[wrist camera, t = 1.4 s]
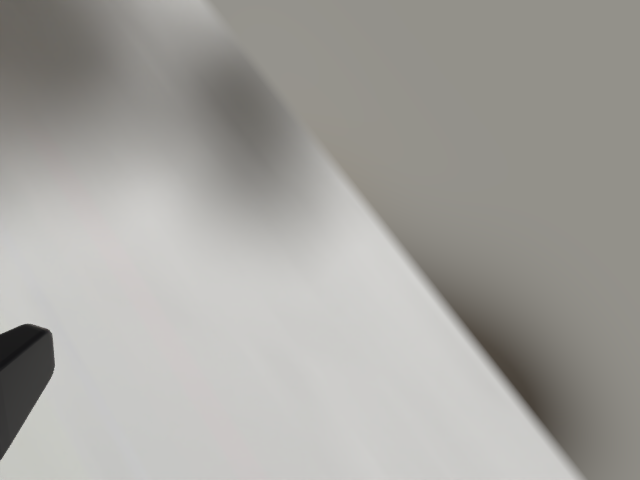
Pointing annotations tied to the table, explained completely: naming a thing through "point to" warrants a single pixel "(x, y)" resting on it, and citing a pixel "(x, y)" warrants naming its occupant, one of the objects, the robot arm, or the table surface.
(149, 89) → the table surface
